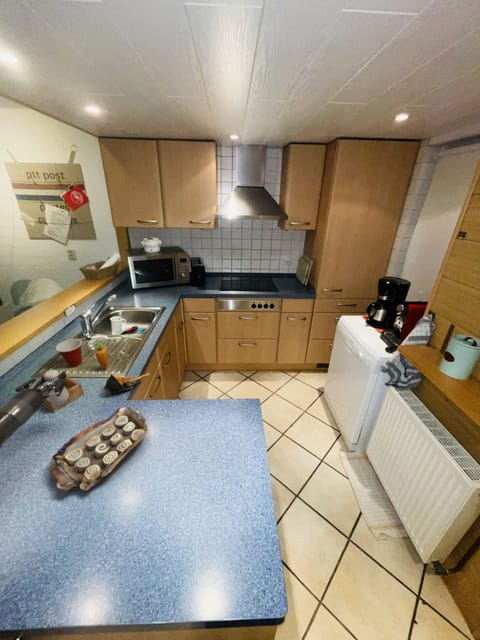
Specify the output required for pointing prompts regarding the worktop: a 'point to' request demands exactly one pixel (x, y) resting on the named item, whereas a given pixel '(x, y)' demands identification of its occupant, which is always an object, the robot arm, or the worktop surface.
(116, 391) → the fried shrimp in bowl
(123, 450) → the baking tray
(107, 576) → the worktop surface
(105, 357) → the carrot
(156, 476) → the worktop surface
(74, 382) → the box
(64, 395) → the salt shaker
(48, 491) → the worktop surface
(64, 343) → the plastic cup
